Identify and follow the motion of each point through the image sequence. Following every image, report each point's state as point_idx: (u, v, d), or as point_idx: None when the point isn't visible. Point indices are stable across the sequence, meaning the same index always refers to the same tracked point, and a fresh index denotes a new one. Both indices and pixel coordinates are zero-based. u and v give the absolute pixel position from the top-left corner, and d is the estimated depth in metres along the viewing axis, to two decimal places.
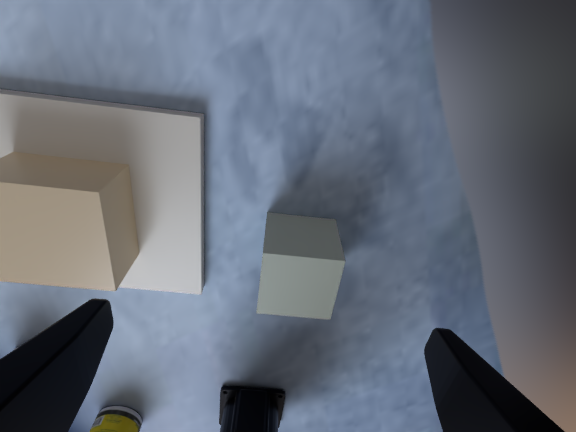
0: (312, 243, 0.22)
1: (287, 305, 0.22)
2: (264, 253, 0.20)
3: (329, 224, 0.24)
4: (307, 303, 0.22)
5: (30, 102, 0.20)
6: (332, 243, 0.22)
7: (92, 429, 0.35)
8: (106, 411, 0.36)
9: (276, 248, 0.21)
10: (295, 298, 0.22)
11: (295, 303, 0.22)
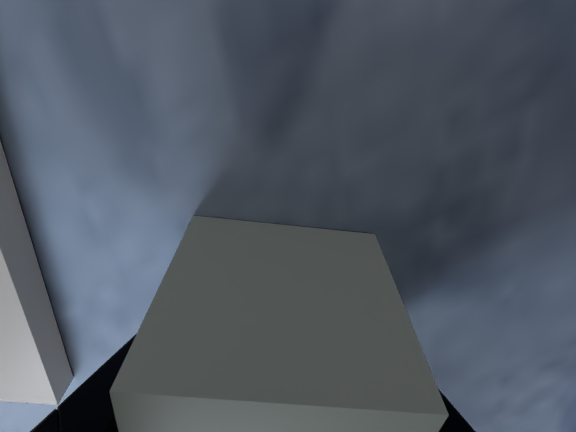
0: (315, 324, 0.06)
1: None
2: (117, 392, 0.05)
3: (363, 251, 0.09)
4: None
5: None
6: (382, 324, 0.07)
7: None
8: None
9: (179, 358, 0.05)
10: None
11: None
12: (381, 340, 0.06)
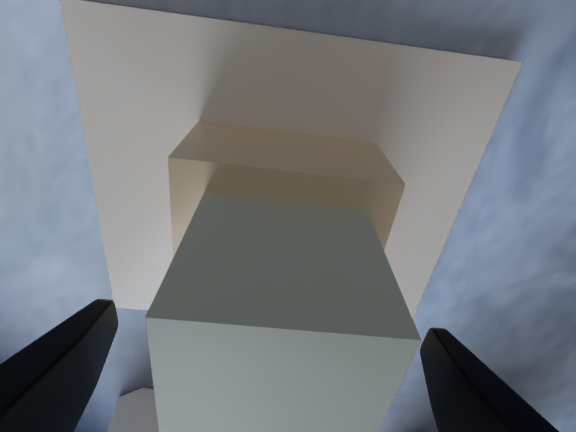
0: (312, 276, 0.08)
1: None
2: (151, 318, 0.06)
3: (355, 222, 0.10)
4: None
5: (250, 34, 0.12)
6: (369, 276, 0.08)
7: None
8: None
9: (200, 296, 0.07)
10: (264, 431, 0.08)
11: None
12: (368, 288, 0.07)
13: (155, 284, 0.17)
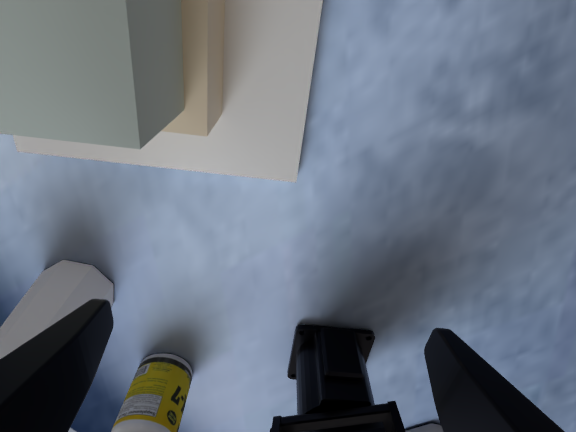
0: None
1: (25, 102, 0.09)
2: None
3: None
4: (71, 96, 0.09)
5: None
6: None
7: (136, 379, 0.28)
8: (151, 359, 0.29)
9: None
10: (34, 79, 0.09)
11: (41, 96, 0.09)
12: None
13: None
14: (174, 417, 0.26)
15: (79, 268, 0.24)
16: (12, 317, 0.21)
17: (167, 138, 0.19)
